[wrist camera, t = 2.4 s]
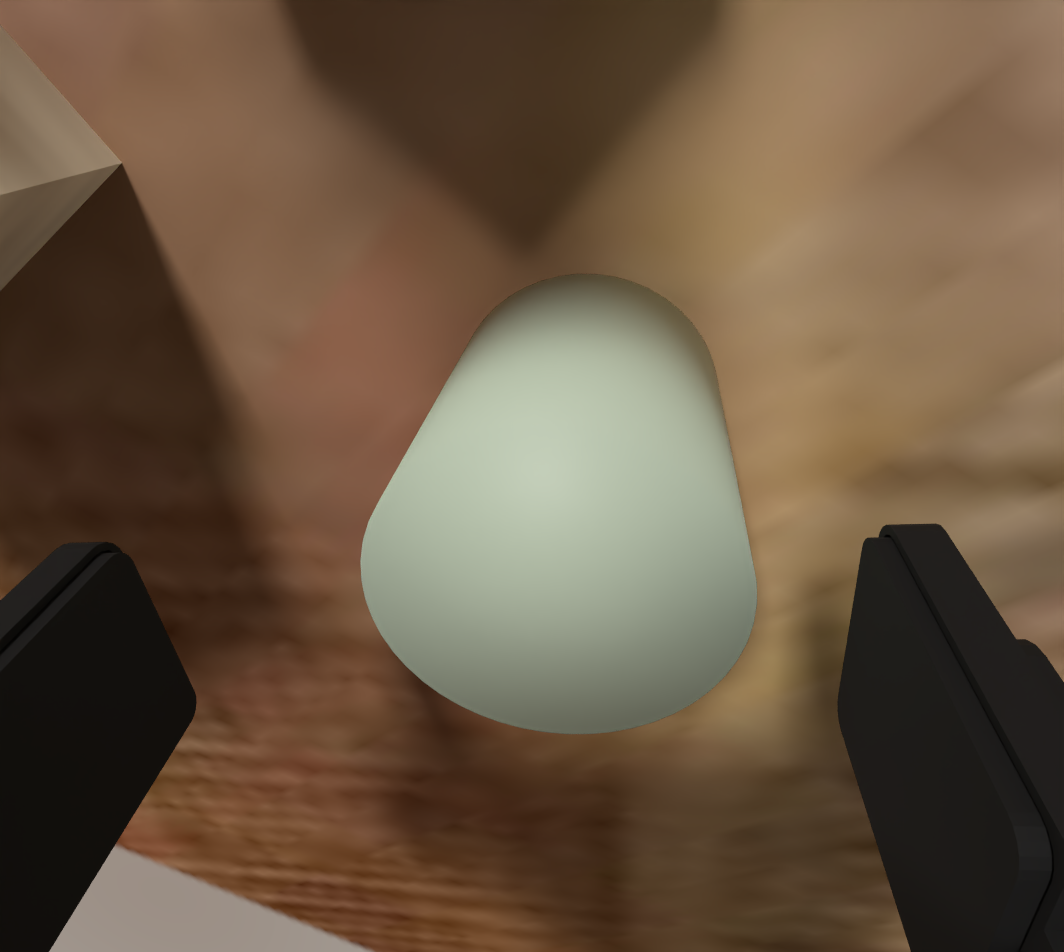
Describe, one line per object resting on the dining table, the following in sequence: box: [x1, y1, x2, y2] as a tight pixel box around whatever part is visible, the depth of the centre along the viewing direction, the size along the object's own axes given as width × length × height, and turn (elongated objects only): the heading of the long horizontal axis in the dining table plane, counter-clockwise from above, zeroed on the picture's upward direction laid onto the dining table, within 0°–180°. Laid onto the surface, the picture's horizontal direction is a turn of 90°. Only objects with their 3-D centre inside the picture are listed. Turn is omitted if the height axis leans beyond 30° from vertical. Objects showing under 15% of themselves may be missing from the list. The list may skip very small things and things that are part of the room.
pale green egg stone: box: [361, 274, 757, 734], centre depth 12 cm, size 5×5×6 cm
